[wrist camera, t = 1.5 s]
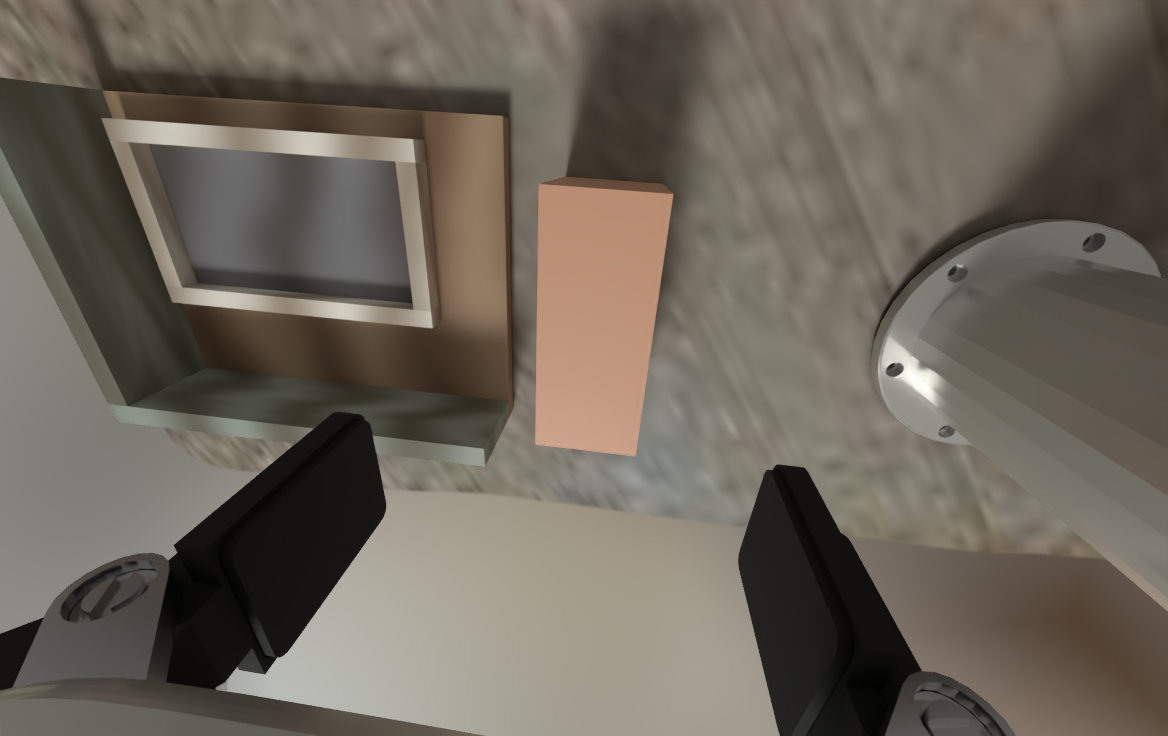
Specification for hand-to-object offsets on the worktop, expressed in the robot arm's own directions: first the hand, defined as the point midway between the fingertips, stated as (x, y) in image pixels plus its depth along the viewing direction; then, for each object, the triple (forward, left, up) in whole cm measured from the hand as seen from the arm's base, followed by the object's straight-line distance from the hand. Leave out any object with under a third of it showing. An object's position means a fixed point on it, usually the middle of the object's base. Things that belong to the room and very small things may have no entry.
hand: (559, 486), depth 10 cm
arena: (+13, +11, -16) cm, 23 cm away
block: (0, 0, -16) cm, 16 cm away
